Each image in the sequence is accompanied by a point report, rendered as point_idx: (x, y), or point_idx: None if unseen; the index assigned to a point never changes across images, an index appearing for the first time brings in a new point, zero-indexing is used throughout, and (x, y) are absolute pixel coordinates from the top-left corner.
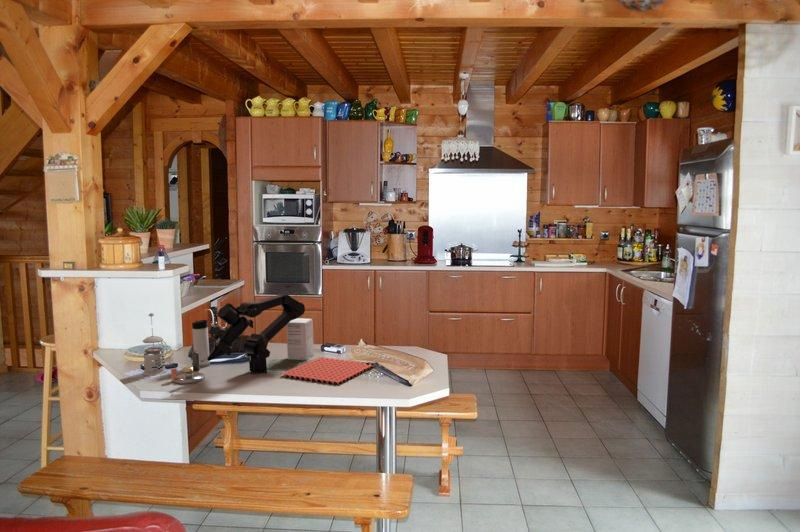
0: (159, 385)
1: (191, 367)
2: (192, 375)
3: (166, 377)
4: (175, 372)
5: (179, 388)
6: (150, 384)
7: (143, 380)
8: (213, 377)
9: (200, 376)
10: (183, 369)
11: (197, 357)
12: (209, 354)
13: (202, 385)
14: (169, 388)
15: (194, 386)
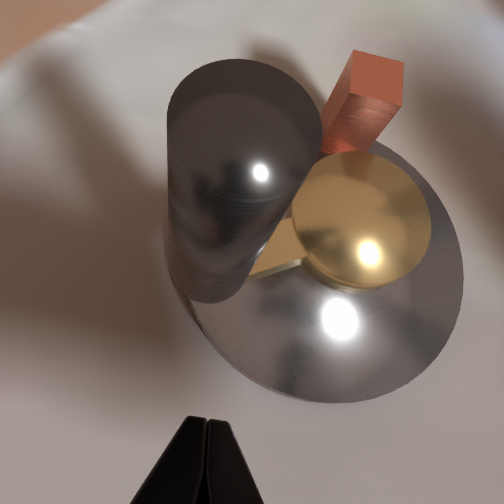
0: (278, 42)
1: (367, 245)
2: None
3: (468, 128)
4: (337, 103)
5: (94, 128)
6: (338, 8)
7: (458, 2)
8: (266, 487)
9: (289, 347)
10: (329, 155)
11: (172, 206)
12: (256, 498)
13: (41, 316)
14: (149, 72)
15: (63, 243)
